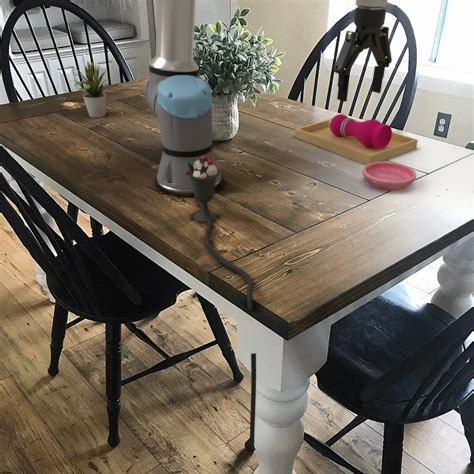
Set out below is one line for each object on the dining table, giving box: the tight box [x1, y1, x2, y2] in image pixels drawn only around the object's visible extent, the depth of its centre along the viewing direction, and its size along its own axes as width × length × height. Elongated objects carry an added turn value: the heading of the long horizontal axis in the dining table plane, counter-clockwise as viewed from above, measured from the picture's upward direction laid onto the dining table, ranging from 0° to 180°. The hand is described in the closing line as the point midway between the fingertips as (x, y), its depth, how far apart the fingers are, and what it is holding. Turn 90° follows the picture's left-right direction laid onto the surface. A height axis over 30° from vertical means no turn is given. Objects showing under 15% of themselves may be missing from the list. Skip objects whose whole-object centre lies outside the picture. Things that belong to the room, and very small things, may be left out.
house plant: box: [69, 60, 111, 118], centre depth 171 cm, size 14×14×16 cm
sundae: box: [186, 147, 221, 223], centre depth 112 cm, size 7×7×15 cm
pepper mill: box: [329, 113, 393, 149], centre depth 152 cm, size 7×7×20 cm
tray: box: [294, 116, 419, 166], centre depth 153 cm, size 28×20×2 cm
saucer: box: [361, 161, 417, 192], centre depth 130 cm, size 12×12×3 cm
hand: (359, 96), depth 147 cm, fingers open, 13 cm apart
